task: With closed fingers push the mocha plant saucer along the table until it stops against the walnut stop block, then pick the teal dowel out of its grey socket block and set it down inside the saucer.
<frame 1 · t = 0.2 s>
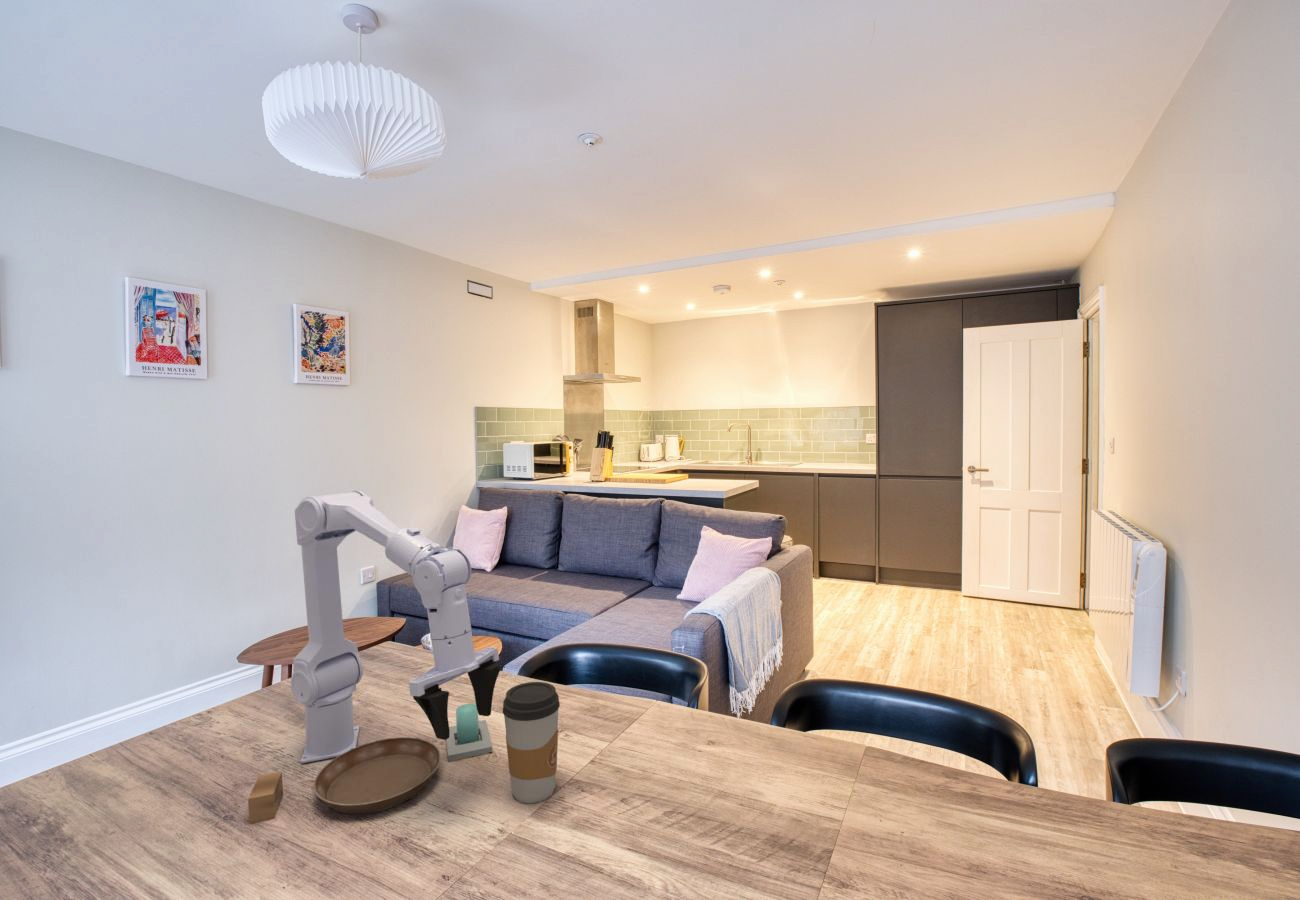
hand: (464, 726, 89), 10 cm above the table, tool pointing down, fingers open, 7 cm apart
socket block: (468, 742, 105), on the table
dowel: (467, 725, 105), in the socket block
plant saucer: (380, 787, 93), on the table
stop block: (266, 808, 88), on the table
coffee cup: (533, 792, 90), on the table
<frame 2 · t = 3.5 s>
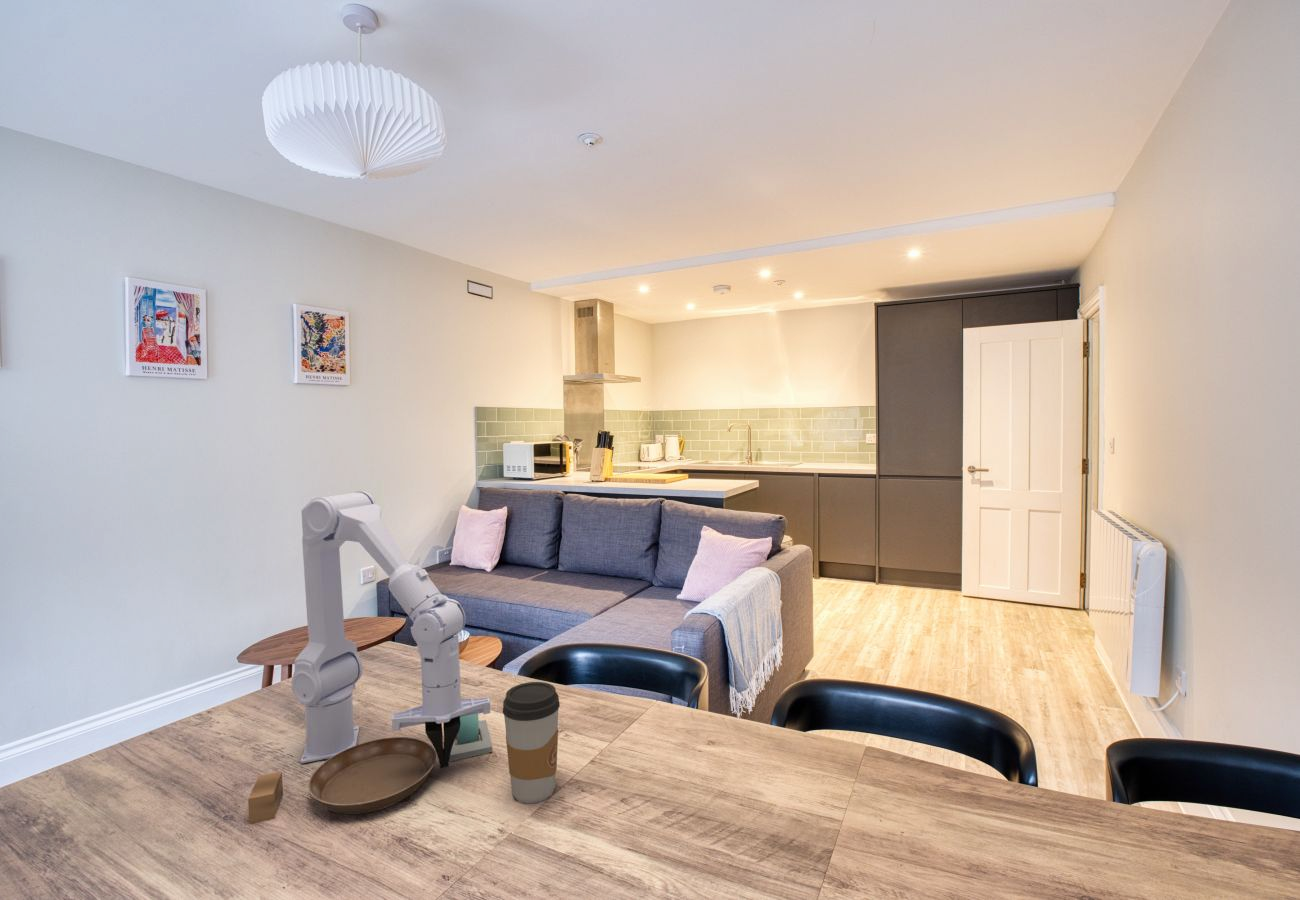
hand: (444, 764, 96), 1 cm above the table, tool pointing down, fingers closed
plant saucer: (375, 787, 93), on the table, touching gripper
everything else where it was.
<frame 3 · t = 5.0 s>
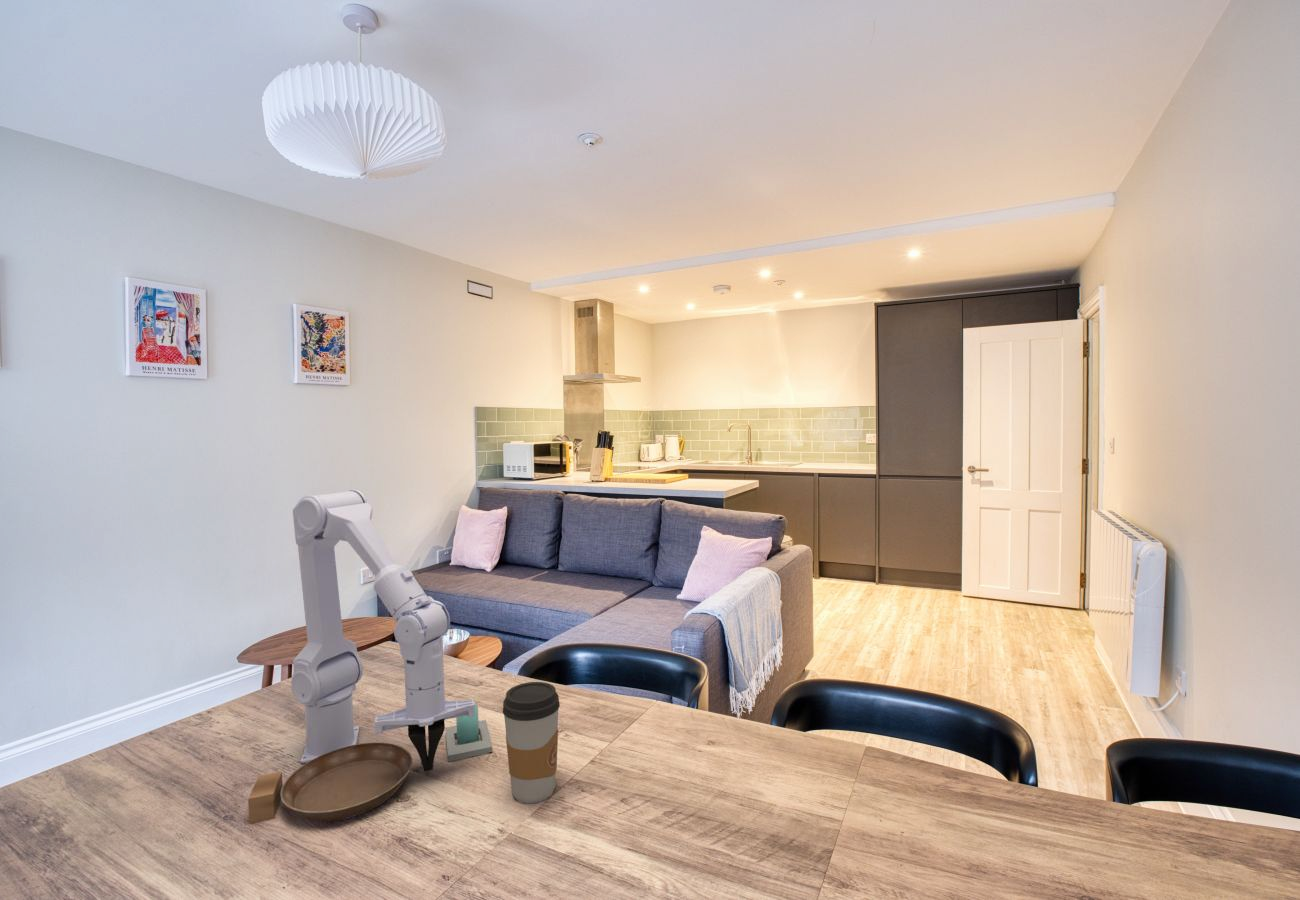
hand: (428, 767, 95), 1 cm above the table, tool pointing down, fingers closed
plant saucer: (350, 793, 92), on the table
everything else where it was.
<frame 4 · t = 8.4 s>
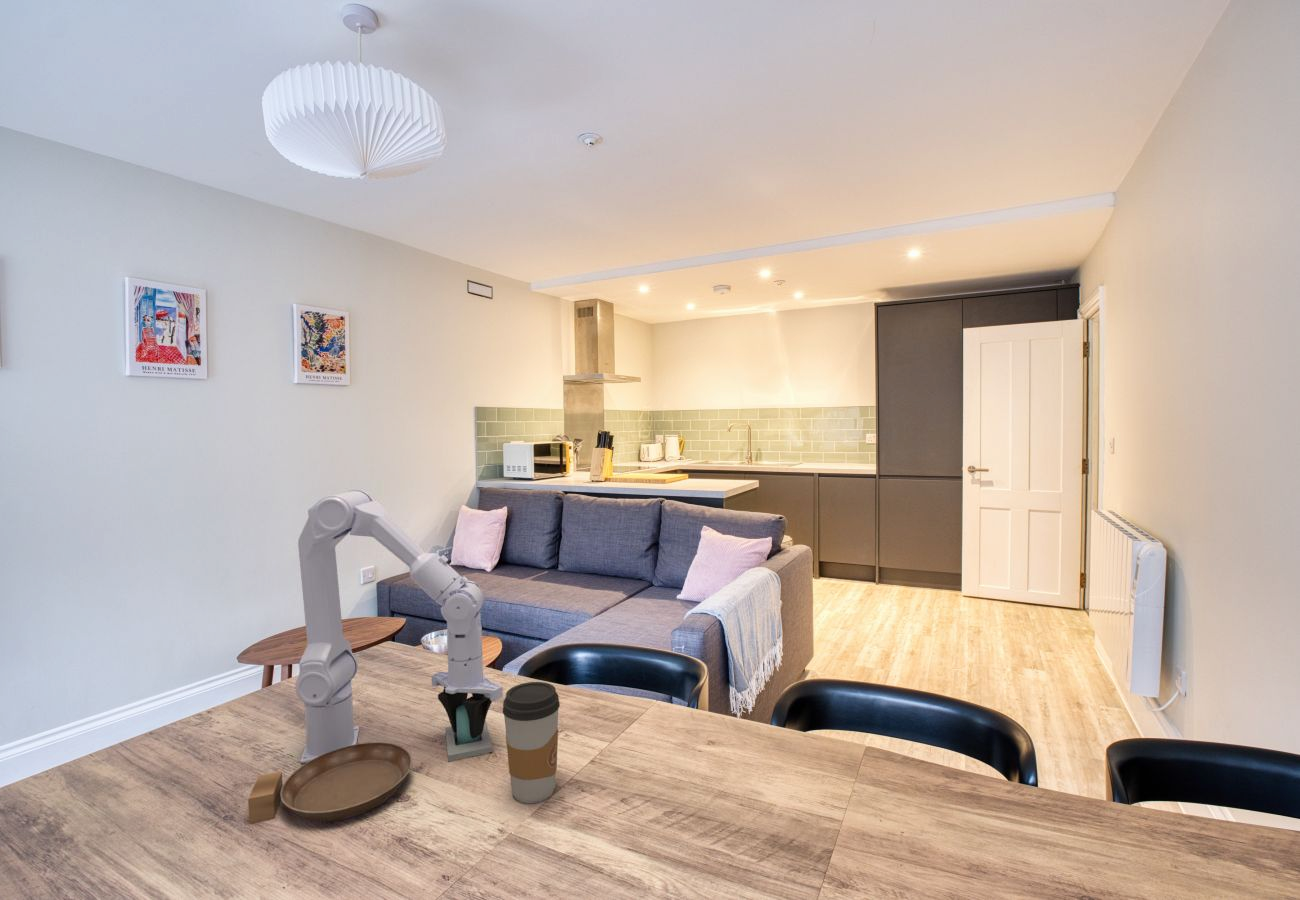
hand: (467, 732, 105), 2 cm above the table, tool pointing down, fingers closed on dowel, 4 cm apart
dowel: (467, 725, 105), in the socket block, touching gripper
everything else where it was.
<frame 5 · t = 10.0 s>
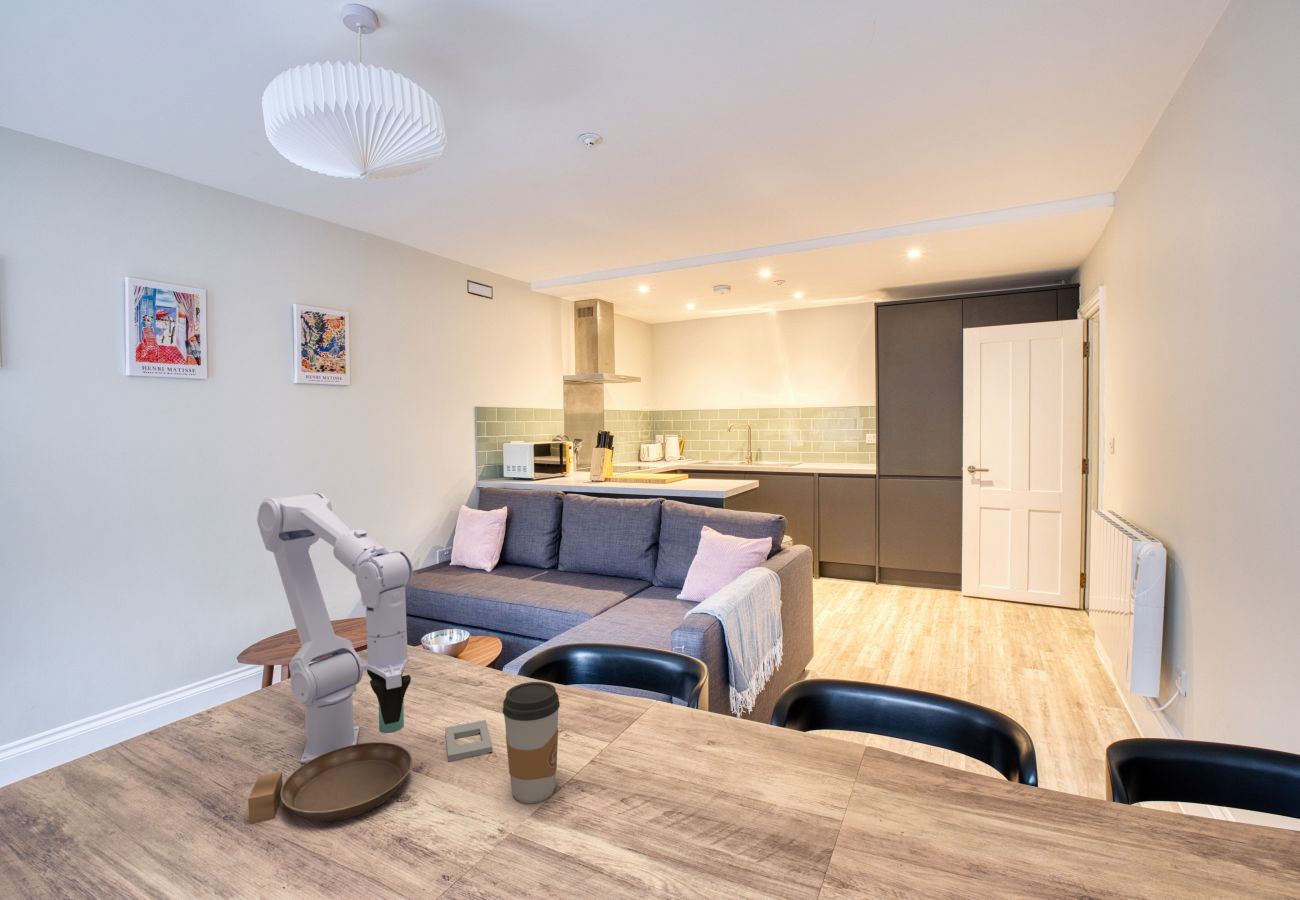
hand: (390, 716, 95), 9 cm above the table, tool pointing down, fingers closed on dowel, 4 cm apart
dowel: (391, 708, 95), point 10 cm above the table, touching gripper
everything else where it was.
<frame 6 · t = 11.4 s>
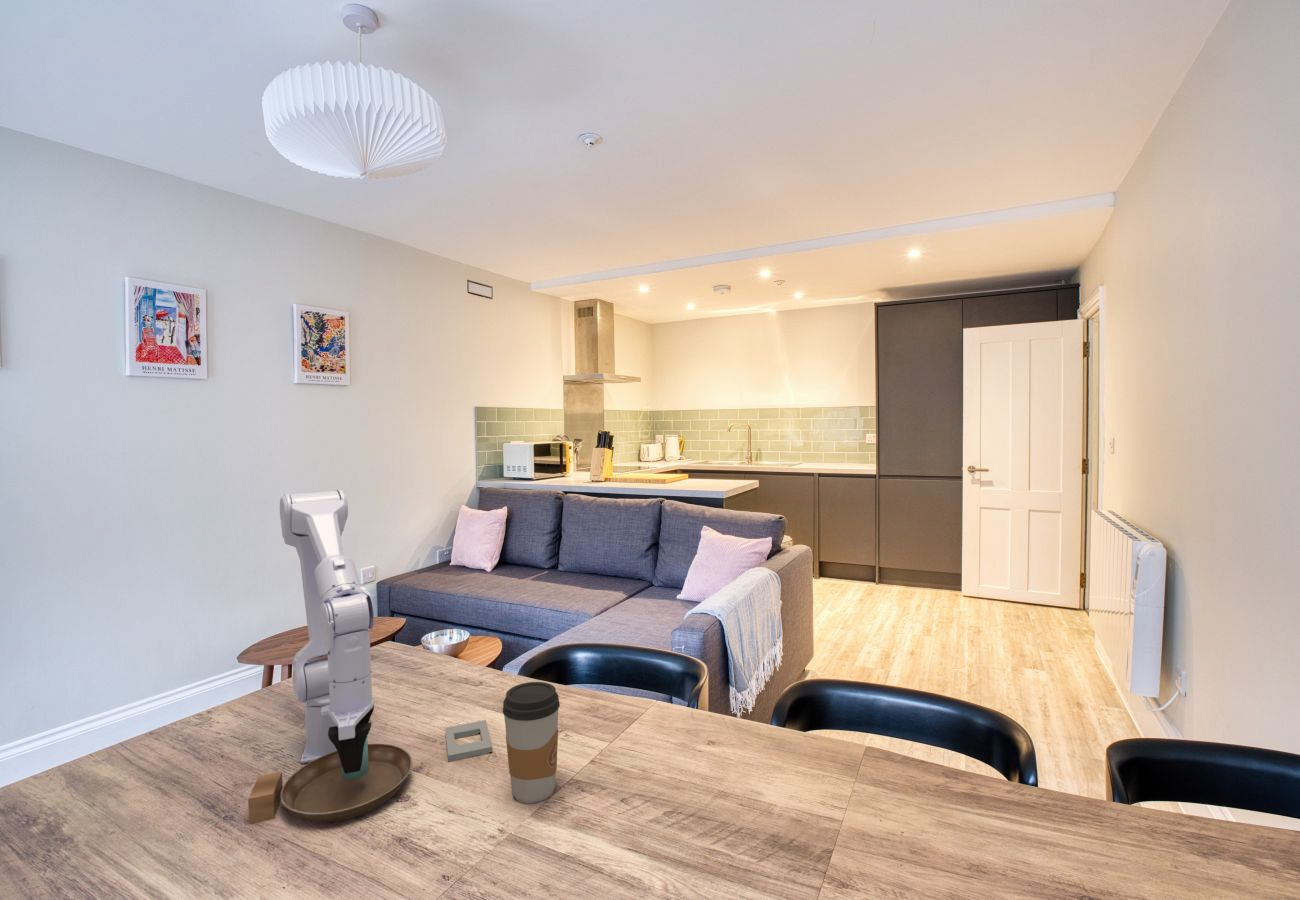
hand: (354, 763, 92), 4 cm above the table, tool pointing down, fingers closed on dowel, 4 cm apart
dowel: (354, 753, 92), point 6 cm above the table, touching gripper, plant saucer
plant saucer: (350, 795, 92), on the table, touching dowel
everything else where it was.
when the fingers open (4 cm above the table, at t = 11.8 s): dowel stays where it is, resting on plant saucer.
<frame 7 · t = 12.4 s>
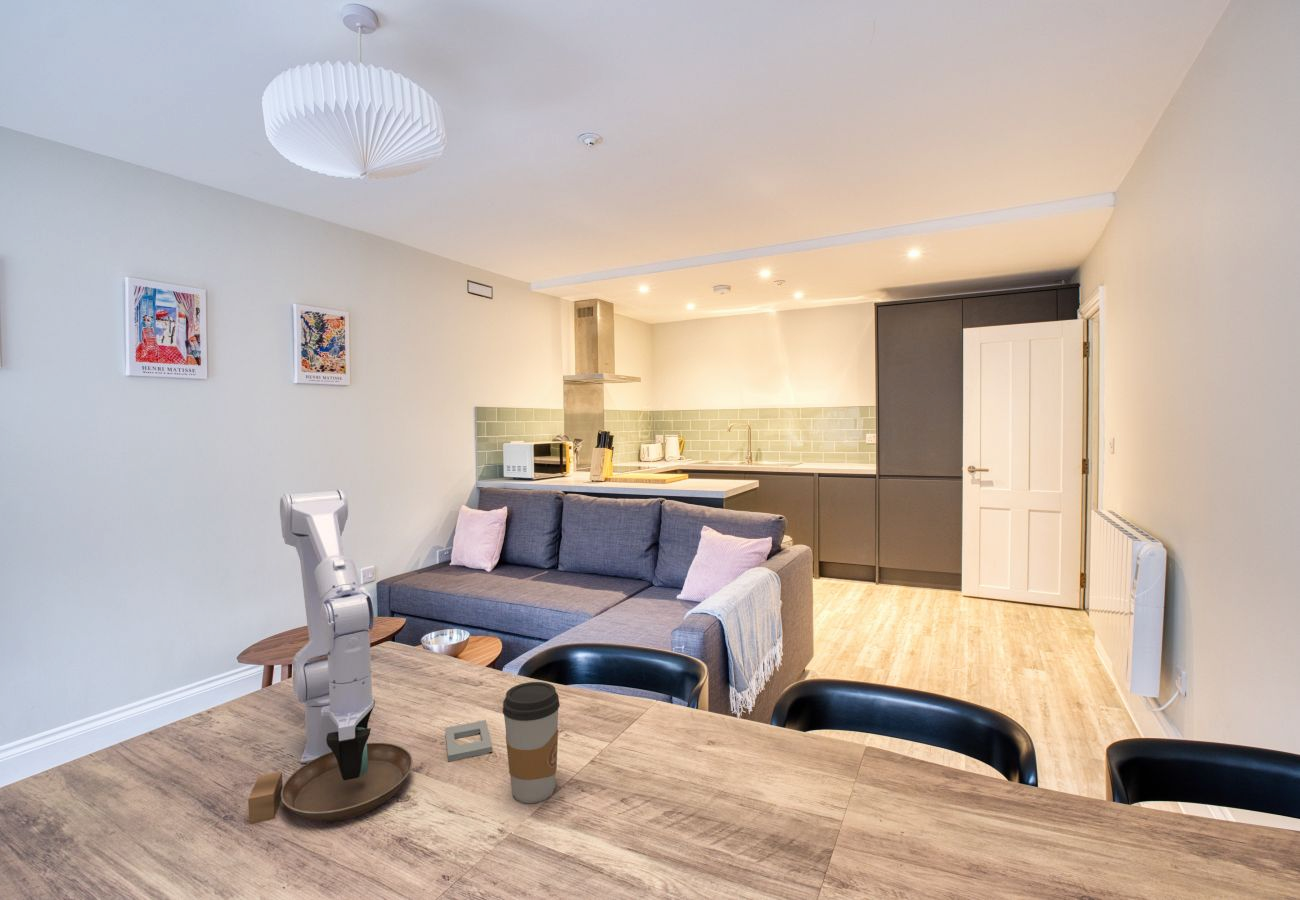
hand: (353, 764, 92), 4 cm above the table, tool pointing down, fingers open, 7 cm apart
dowel: (353, 752, 92), point 6 cm above the table, touching plant saucer
everything else where it was.
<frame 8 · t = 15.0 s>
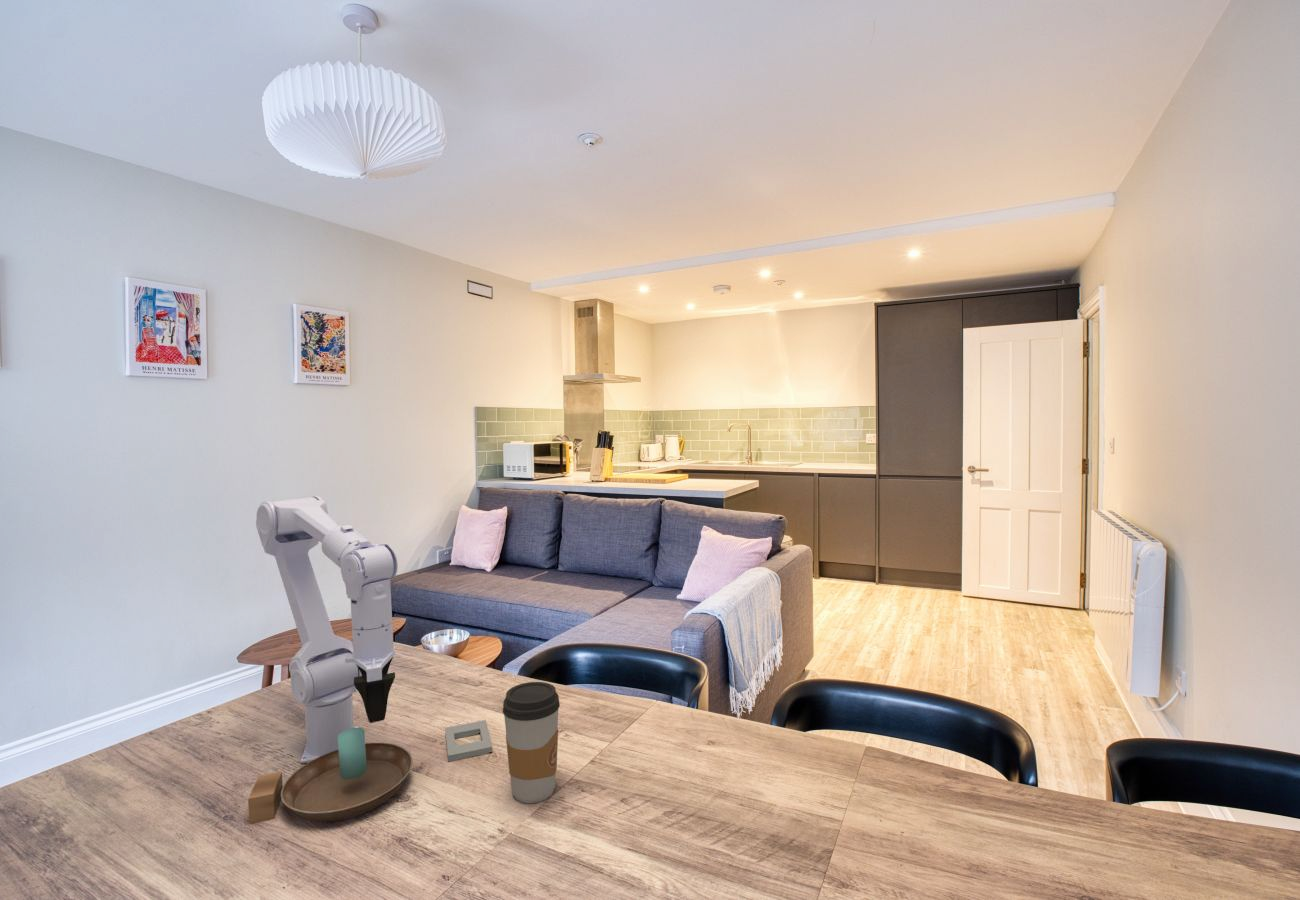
hand: (376, 710, 95), 10 cm above the table, tool pointing down, fingers open, 7 cm apart
nothing on the table moved.
at the end: plant saucer 0.0 cm from the target spot, on the table; dowel 0.6 cm from the plant saucer (horizontally); dowel point 5.7 cm above the table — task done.
